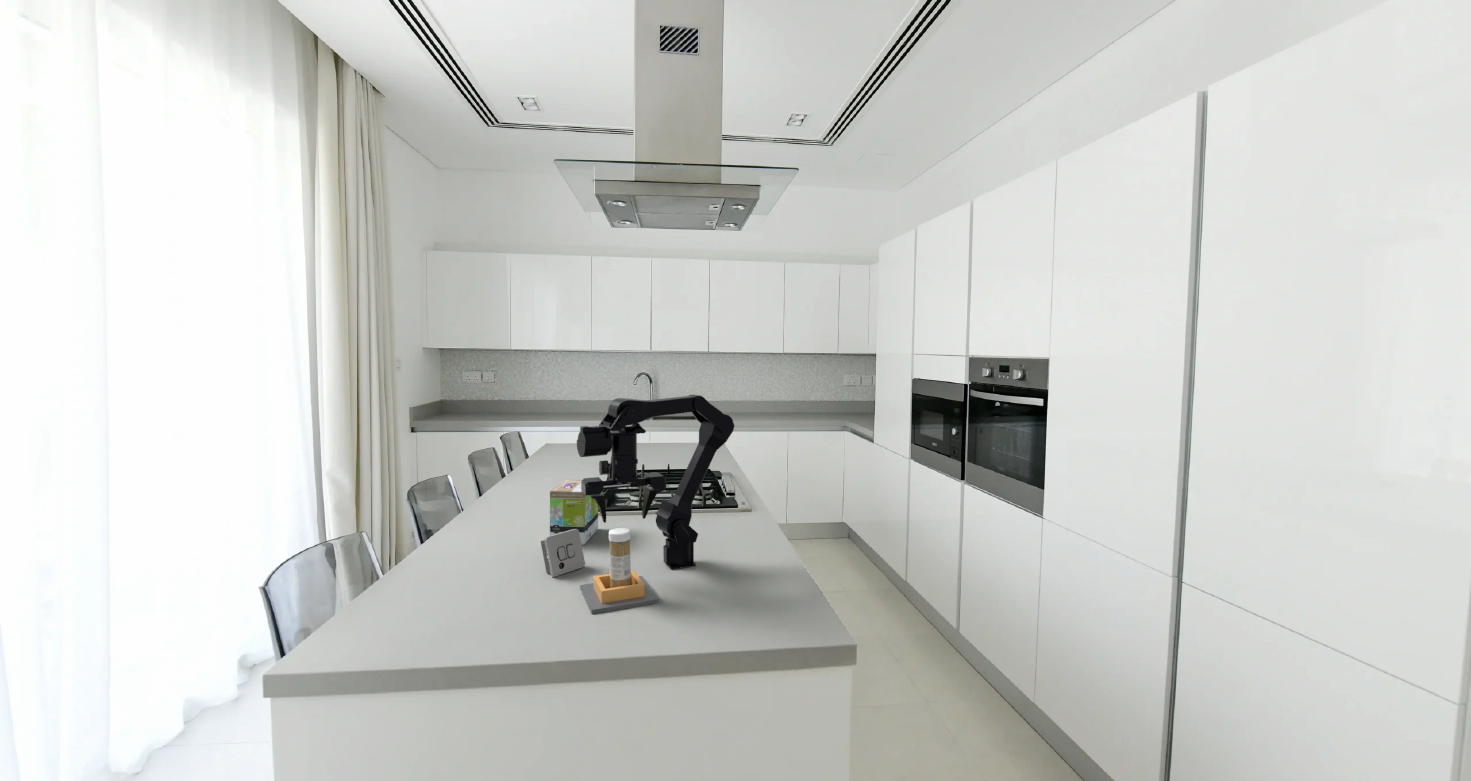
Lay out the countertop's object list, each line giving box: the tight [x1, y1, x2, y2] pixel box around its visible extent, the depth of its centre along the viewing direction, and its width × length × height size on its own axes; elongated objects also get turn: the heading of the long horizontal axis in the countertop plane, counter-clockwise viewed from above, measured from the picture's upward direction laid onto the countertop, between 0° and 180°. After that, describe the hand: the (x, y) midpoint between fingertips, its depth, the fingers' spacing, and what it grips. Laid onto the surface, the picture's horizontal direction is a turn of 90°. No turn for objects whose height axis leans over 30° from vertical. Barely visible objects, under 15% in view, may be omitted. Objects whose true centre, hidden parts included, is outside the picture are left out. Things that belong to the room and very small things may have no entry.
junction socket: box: [579, 570, 660, 615], centre depth 134 cm, size 14×14×3 cm
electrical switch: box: [540, 529, 586, 578], centre depth 149 cm, size 9×5×9 cm, turn 141°
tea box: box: [549, 479, 599, 546], centre depth 174 cm, size 15×10×15 cm
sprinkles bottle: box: [608, 527, 632, 588], centre depth 134 cm, size 5×5×14 cm
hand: (624, 520), depth 145 cm, fingers open, 9 cm apart
